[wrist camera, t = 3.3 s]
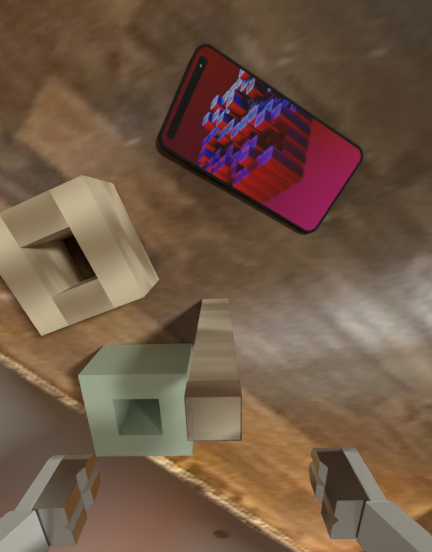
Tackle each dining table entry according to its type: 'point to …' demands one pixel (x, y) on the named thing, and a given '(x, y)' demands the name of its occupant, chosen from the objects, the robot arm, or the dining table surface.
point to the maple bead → (59, 263)
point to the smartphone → (257, 141)
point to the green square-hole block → (138, 399)
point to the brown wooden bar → (214, 378)
